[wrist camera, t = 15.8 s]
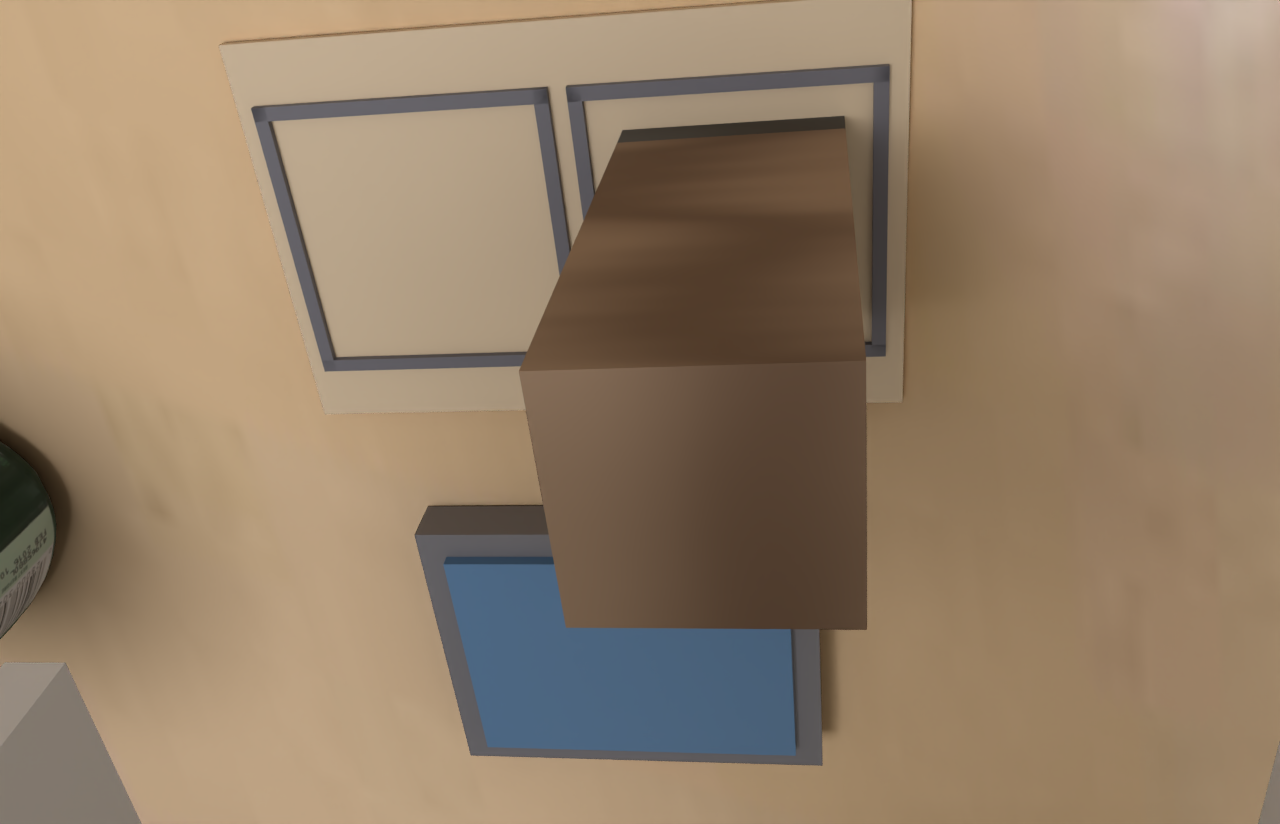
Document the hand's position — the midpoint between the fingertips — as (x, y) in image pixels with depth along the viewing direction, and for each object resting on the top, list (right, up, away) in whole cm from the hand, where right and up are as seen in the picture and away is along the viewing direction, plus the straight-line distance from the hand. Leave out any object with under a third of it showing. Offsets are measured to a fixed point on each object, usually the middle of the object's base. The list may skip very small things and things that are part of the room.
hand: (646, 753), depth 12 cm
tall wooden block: (+2, +8, +12) cm, 14 cm away
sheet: (-1, +8, +12) cm, 15 cm away
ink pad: (0, -2, +18) cm, 18 cm away
